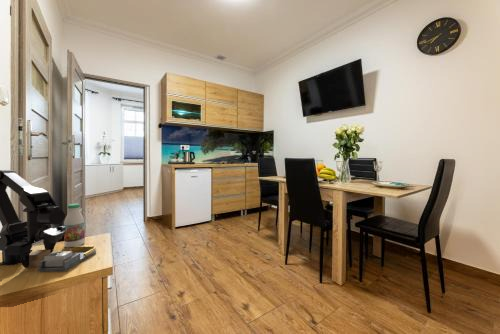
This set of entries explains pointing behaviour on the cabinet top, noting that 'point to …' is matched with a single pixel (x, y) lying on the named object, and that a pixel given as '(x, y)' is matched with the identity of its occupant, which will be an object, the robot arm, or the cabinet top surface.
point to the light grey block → (57, 258)
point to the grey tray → (70, 259)
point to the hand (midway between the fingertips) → (38, 261)
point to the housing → (37, 257)
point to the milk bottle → (74, 227)
